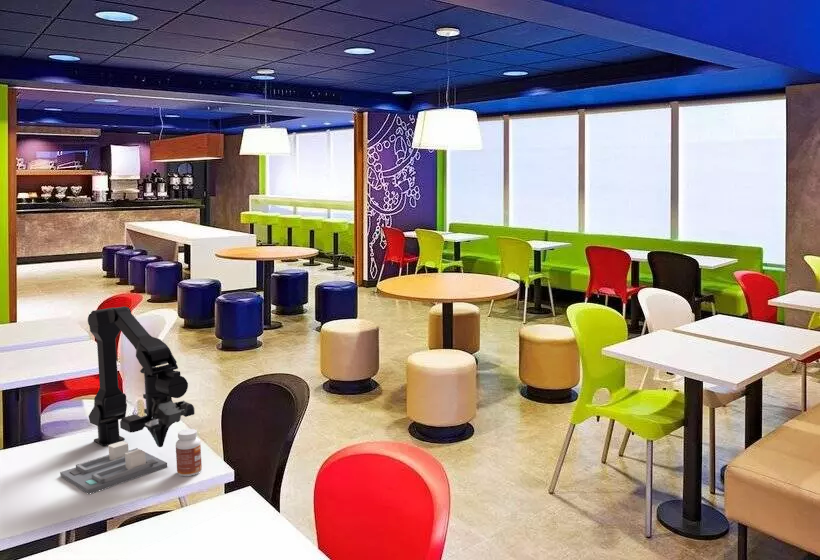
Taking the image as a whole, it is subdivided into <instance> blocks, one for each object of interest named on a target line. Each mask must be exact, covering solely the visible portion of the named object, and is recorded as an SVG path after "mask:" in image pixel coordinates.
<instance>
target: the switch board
mask: <svg viewBox="0 0 820 560" xmlns="http://www.w3.org/2000/svg"><path fill="white" fill-rule="evenodd" d="M138 449H139V448H138V447H136V448H133V449H129V452H131V451H135V450H138ZM145 458H146V464H143V465H140V466H137V467H134V468H131V469H127V468H126V463H125V456H124V457H121V458H118V459H115V460H110V459H109V454H105V455H103V456H99V457H96V458H92V459H90V460H87V461H84V462H80V463H77V464H75V467H72V468H69V469H66V470H64V471H63V470H62V471H60V473H59V477H60V478H62V479H64V480H65V481H67V483H70V484H71V485H73V486H75V487H76V488H78V489H79V490H81V491H83V492H84V493H86V494H87V493H88V494H87V495H91V494H94V493H96V491H97V492H100V491H103V490H105V488H106V489H108V487H109V488H112V487H114V486H118V485H120V484H123V483H126V482H128V481H131V480H134V479H137V478H140V477H144V476H146V475H149V474H152V473H154V472H157V471H159V470H160V471H161V470H163V469H165V468H168V462H166V461H164V460H162V459H160V458H158V457H156V456H154V455H152V454H150V453H148V452H146V451H145ZM102 489H103V490H102ZM99 490H100V491H99ZM93 492H94V493H93ZM90 493H91V494H90Z"/></svg>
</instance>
